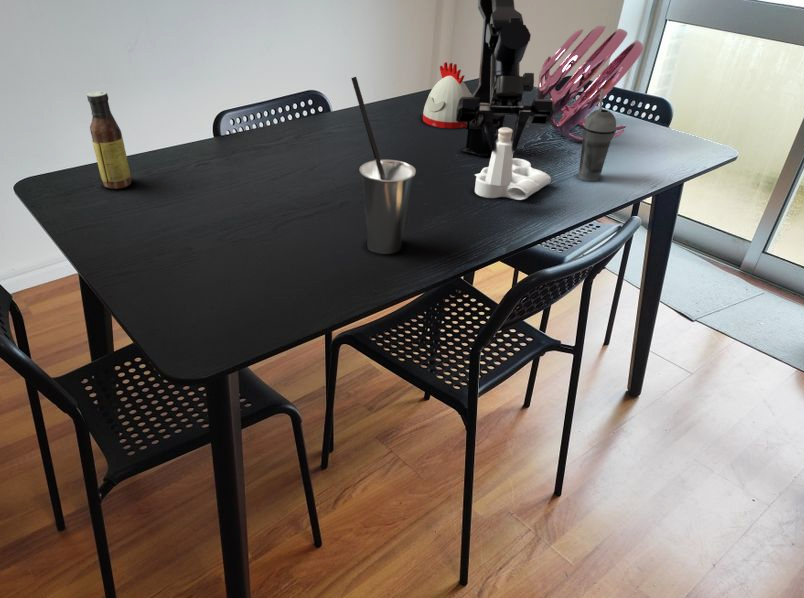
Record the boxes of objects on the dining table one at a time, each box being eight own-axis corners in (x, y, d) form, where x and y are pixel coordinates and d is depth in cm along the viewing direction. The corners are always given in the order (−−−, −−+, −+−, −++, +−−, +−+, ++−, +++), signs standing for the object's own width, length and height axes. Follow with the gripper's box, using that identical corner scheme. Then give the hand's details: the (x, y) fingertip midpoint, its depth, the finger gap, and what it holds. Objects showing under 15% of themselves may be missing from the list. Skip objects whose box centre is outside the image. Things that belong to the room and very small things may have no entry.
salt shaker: (516, 182, 146) (525, 129, 140) (500, 189, 143) (508, 136, 137) (495, 174, 149) (503, 122, 143) (479, 181, 146) (486, 128, 140)
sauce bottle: (137, 181, 159) (121, 90, 147) (121, 192, 154) (103, 99, 142) (112, 177, 161) (94, 87, 149) (95, 188, 156) (76, 95, 144)
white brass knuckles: (517, 208, 151) (459, 189, 158) (556, 183, 162) (499, 167, 169) (520, 193, 149) (460, 175, 156) (558, 169, 160) (501, 153, 167)
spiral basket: (691, 58, 178) (611, -17, 176) (657, 113, 163) (570, 32, 161) (612, 128, 202) (542, 63, 200) (577, 181, 187) (500, 112, 185)
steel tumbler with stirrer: (349, 233, 140) (351, 75, 122) (405, 232, 141) (415, 75, 123) (353, 260, 131) (356, 94, 114) (414, 258, 132) (426, 93, 114)
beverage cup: (606, 185, 161) (627, 95, 150) (573, 182, 163) (591, 92, 151) (603, 173, 167) (623, 85, 156) (571, 170, 168) (589, 83, 157)
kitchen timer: (445, 109, 205) (450, 54, 196) (483, 121, 197) (490, 64, 188) (412, 119, 197) (416, 62, 188) (449, 131, 189) (455, 73, 180)
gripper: (463, 54, 136) (461, 131, 133) (562, 57, 135) (561, 134, 133) (456, 84, 147) (454, 156, 144) (547, 87, 146) (547, 159, 144)
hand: (503, 151), depth 141 cm, fingers closed on salt shaker, 4 cm apart
